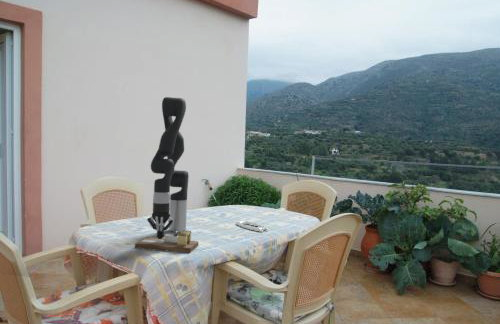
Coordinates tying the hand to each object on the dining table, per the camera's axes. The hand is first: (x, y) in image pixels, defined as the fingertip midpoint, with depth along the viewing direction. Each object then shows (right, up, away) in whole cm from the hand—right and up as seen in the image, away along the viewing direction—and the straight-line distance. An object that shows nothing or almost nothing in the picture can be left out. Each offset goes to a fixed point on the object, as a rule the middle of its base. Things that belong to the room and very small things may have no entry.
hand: (160, 238), depth 162 cm
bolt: (+7, -1, -1) cm, 8 cm away
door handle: (+42, -4, +47) cm, 64 cm away
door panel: (+3, -4, -1) cm, 5 cm away
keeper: (+11, -2, -2) cm, 12 cm away
